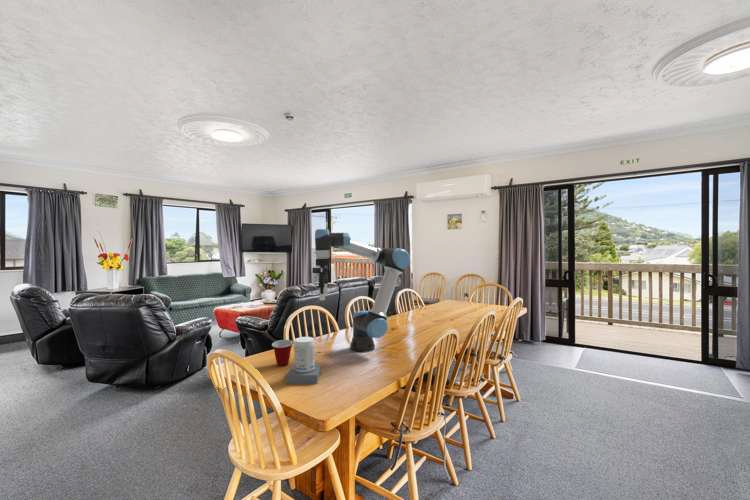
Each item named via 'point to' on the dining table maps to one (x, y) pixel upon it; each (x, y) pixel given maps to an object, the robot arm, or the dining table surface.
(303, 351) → the supplement tub
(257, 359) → the dining table surface
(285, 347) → the plastic cup
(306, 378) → the plinth
